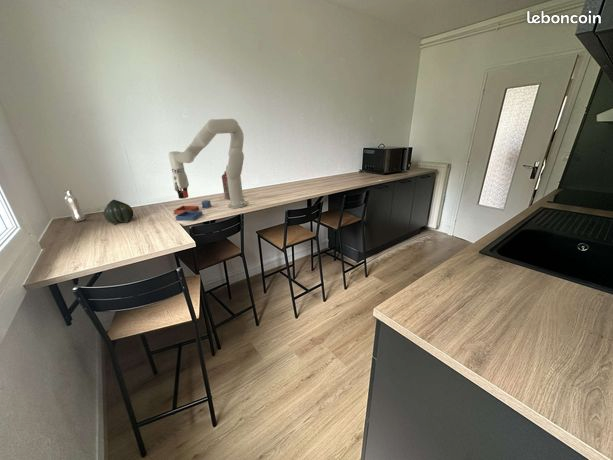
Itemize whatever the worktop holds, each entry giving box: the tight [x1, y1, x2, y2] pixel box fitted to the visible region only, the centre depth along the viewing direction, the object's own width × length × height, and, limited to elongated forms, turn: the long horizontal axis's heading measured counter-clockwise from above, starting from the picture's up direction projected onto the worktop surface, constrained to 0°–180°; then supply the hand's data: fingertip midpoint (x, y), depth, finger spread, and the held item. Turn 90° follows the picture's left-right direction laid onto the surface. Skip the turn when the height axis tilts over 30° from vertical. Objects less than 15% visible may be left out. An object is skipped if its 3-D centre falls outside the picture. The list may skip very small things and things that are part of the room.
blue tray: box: [175, 210, 204, 222], centre depth 166 cm, size 12×11×2 cm
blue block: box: [201, 199, 212, 209], centre depth 186 cm, size 4×4×4 cm
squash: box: [103, 199, 134, 225], centre depth 158 cm, size 14×15×15 cm
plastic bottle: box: [63, 189, 86, 223], centre depth 159 cm, size 6×7×20 cm
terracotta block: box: [177, 190, 189, 199], centre depth 173 cm, size 4×4×4 cm
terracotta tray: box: [173, 205, 200, 215], centre depth 177 cm, size 12×11×2 cm
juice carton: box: [221, 170, 230, 201], centre depth 205 cm, size 7×7×22 cm
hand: (183, 197), depth 174 cm, fingers closed on terracotta block, 4 cm apart
